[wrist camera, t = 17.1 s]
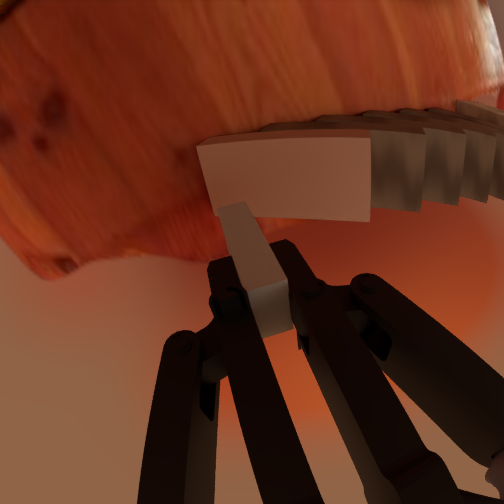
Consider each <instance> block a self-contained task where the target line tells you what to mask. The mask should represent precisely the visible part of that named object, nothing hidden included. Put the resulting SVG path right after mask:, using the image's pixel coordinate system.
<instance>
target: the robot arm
mask: <svg viewBox="0 0 504 504" xmlns="http://www.w3.org/2000/svg"><path fill="white" fill-rule="evenodd" d="M217 210H218V214H219V217H220V221H221V225H222V229H223V232H224V236H225V240H226V244H227V247H228V251H229V254H230V256H228V257H224V258H221V259H217V260H214V261H210V263H209V266H208V268H207V272H208V278H209V283H210V288H211V293H212V294H211V296H210V298H209V306H210V308H211V311H212V313H213V315H214V318H213V320H212V321H211V322H210V324H209V325H208V326H206V327H205V328H203V329H202V330H200V331H198V332H197V333H194V332H192V331H189V330H182V331H178V332H176V333H174V334H172V335H171V336H170V337H169V338H168V339H167V340H166V342H165V344H164V347H163V352H162V356H161V361H160V366H159V370H158V375H157V380H156V385H155V390H154V395H153V400H152V406H151V411H150V417H149V423H148V428H147V434H146V441H145V447H144V453H143V460H142V468H141V475H140V483H139V490H138V499H137V504H214V494H215V469H216V447H217V428H218V410H219V393H220V380H221V379H223V378H224V377H226V376H228V378H229V383H230V387H231V391H232V395H233V398H234V403H235V407H236V410H237V414H238V418H239V422H240V426H241V429H242V433H243V437H244V440H245V444H246V447H247V451H248V454H249V458H250V462H251V465H252V468H253V472H254V475H255V479H256V482H257V485H258V488H259V492H260V495H261V498H262V501H263V504H325V503H324V502H323V499H322V497H321V494H320V492H319V489H318V487H317V484H316V482H315V479H314V477H313V474H312V471H311V469H310V466H309V464H308V461H307V459H306V456H305V453H304V451H303V448H302V445H301V443H300V440H299V438H298V435H297V432H296V430H295V427H294V424H293V422H292V419H291V416H290V414H289V411H288V408H287V406H286V403H285V400H284V398H283V395H282V392H281V389H280V387H279V384H278V382H277V379H276V376H275V373H274V370H273V367H272V365H271V362H270V359H269V356H268V354H267V351H266V348H265V345H264V343H263V340H262V339H263V338H266V337H269V336H272V335H275V334H279V333H282V332H284V331H288V330H291V329H293V324H294V326H295V328H296V330H297V340H298V348H299V350H300V349H301V347H302V349H303V352H304V354H305V356H306V358H307V361H308V362H309V365H310V367H311V369H312V372H313V374H314V376H315V378H316V380H317V383H318V385H319V387H320V389H321V392H322V394H323V396H324V398H325V400H326V403H327V405H328V407H329V409H330V412H331V414H332V416H333V418H334V421H335V423H336V425H337V427H338V429H339V432H340V434H341V436H342V438H343V441H344V443H345V445H346V447H347V450H348V452H349V454H350V456H351V459H352V461H353V463H354V465H355V468H356V470H357V472H358V474H359V476H360V479H361V481H362V484H363V487H364V494H365V497H366V500H367V502H368V504H504V378H503V377H502V376H501V375H500V374H499V373H497V372H496V371H495V370H494V369H493V368H492V367H491V366H490V365H488V364H487V363H486V362H485V361H484V360H483V359H482V358H480V357H479V356H478V355H477V354H476V353H475V352H473V351H472V350H471V349H470V348H469V347H468V346H466V345H465V344H464V343H463V342H462V341H460V340H459V339H458V338H457V337H456V336H454V335H453V334H452V333H451V332H450V331H448V330H447V329H446V328H445V327H443V326H442V325H441V324H440V323H439V322H437V321H436V320H435V319H434V318H432V317H431V316H430V315H429V314H427V313H426V312H425V311H424V310H422V309H421V308H420V307H418V306H417V305H416V304H414V303H413V302H412V301H411V300H409V299H408V298H407V297H406V296H404V295H403V294H402V293H400V292H399V291H398V290H396V289H395V288H394V287H392V286H391V285H390V284H388V283H387V282H386V281H384V280H383V279H382V278H380V277H379V276H377V275H375V274H370V273H364V274H359V275H357V276H355V277H354V278H353V279H352V281H351V283H350V285H344V286H331V285H327V284H326V283H325V282H324V281H323V280H320V279H318V278H316V276H315V275H314V273H313V272H312V270H311V269H310V267H309V266H308V264H307V263H306V261H305V260H304V258H303V257H302V255H301V254H300V253H299V251H298V249H297V248H296V246H295V245H294V244H293V243H292V242H290V241H288V240H287V239H284V240H281V241H277V242H274V243H270V244H268V242H267V240H266V238H265V236H264V235H263V233H262V231H261V229H260V227H259V225H258V224H257V222H256V220H255V218H254V216H253V214H252V213H251V211H250V209H249V207H248V205H247V204H246V202H245V201H242V202H238V203H235V204H231V205H227V206H224V207H220V208H217ZM382 371H383V372H384V373H385V374H386V375H387V376H389V377H390V379H391V380H393V382H395V383H396V385H398V386H399V388H401V389H402V390H403V391H404V392H405V393H406V394H407V395H408V396H409V397H410V398H411V399H412V400H413V401H414V402H415V403H416V404H417V405H418V406H419V407H420V408H421V409H422V410H423V411H424V412H425V413H426V414H427V415H428V416H429V417H430V418H431V419H432V420H433V421H434V422H435V423H436V424H437V425H438V426H439V427H440V428H441V429H442V430H443V431H444V432H445V433H446V434H447V435H448V436H449V437H450V438H451V439H452V440H453V442H454V443H456V445H457V446H459V448H461V449H462V451H463V452H465V453H466V454H467V455H468V456H469V457H470V458H472V459H473V460H474V461H476V462H477V463H479V464H481V465H483V466H485V467H487V468H489V469H488V470H487V472H486V475H485V480H486V481H487V482H488V483H491V484H492V485H493V486H494V487H496V488H497V489H498V491H499V494H500V499H497V498H492V497H488V496H483V495H479V494H475V493H472V492H468V491H464V490H461V489H458V488H457V486H456V484H455V482H454V480H453V478H452V476H451V474H450V472H449V470H448V468H447V466H446V465H445V463H444V461H443V460H442V458H441V457H440V456H439V455H438V454H436V453H434V452H432V451H430V450H428V449H427V448H426V446H425V445H424V443H423V442H422V440H421V438H420V436H419V434H418V433H417V431H416V429H415V427H414V425H413V423H412V422H411V420H410V418H409V416H408V415H407V413H406V411H405V409H404V408H403V406H402V404H401V403H400V401H399V399H398V397H397V395H396V394H395V392H394V390H393V389H392V387H391V385H390V383H389V382H388V380H387V378H386V377H385V375H384V374H383V372H382Z"/></svg>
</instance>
